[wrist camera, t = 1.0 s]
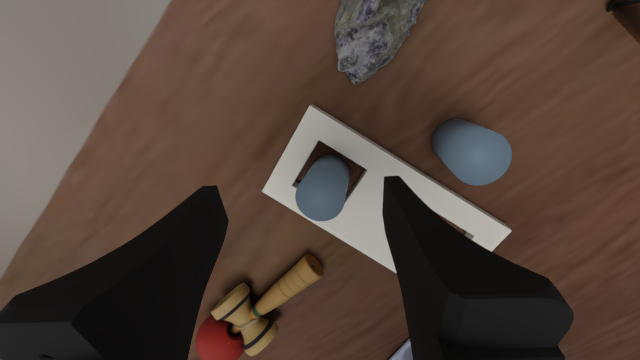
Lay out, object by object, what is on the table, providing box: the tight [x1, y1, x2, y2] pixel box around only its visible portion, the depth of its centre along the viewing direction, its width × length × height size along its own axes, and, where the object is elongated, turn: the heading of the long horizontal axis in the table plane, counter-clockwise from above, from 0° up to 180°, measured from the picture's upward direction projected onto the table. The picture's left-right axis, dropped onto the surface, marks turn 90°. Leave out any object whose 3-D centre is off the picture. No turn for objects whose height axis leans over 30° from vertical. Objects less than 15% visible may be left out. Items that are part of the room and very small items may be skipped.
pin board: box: [262, 104, 512, 273], centre depth 30 cm, size 22×10×2 cm, turn 60°
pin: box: [295, 154, 350, 221], centre depth 27 cm, size 4×4×7 cm
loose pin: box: [432, 119, 512, 185], centre depth 24 cm, size 4×4×7 cm
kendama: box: [196, 254, 324, 360], centre depth 35 cm, size 8×6×18 cm
